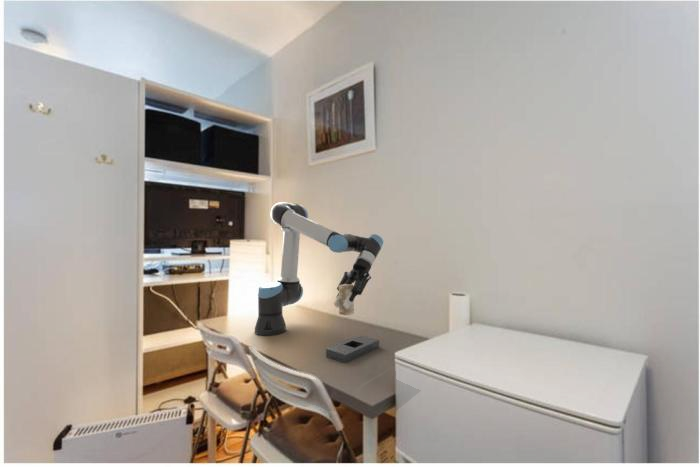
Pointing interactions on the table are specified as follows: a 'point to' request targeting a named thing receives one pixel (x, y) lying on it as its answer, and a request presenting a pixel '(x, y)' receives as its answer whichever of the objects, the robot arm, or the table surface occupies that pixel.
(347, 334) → the table surface
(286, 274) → the robot arm
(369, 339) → the grey block with hole
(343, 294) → the peg
